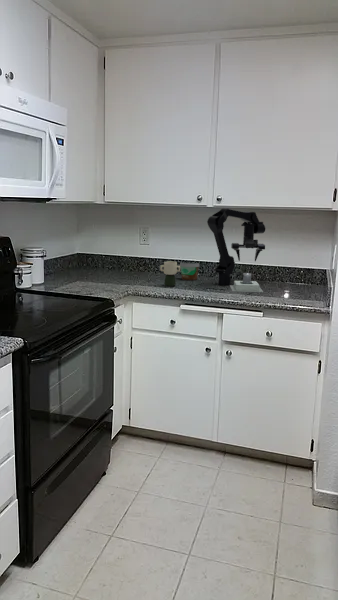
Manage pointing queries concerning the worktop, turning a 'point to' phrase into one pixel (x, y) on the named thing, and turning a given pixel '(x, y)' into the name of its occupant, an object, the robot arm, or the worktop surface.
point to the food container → (189, 271)
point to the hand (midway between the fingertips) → (247, 261)
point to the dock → (246, 287)
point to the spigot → (246, 278)
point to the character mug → (170, 272)
